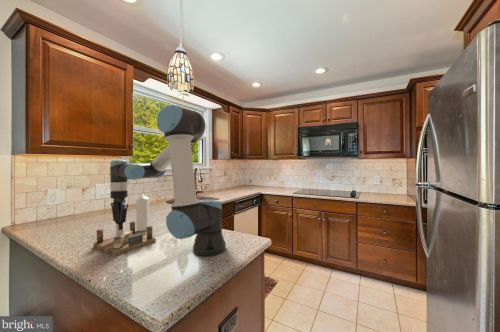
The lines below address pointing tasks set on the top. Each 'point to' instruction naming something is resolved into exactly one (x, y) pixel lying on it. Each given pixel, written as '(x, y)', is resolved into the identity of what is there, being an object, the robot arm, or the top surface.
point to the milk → (142, 213)
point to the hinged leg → (122, 239)
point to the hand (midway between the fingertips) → (119, 235)
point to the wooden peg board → (132, 243)
